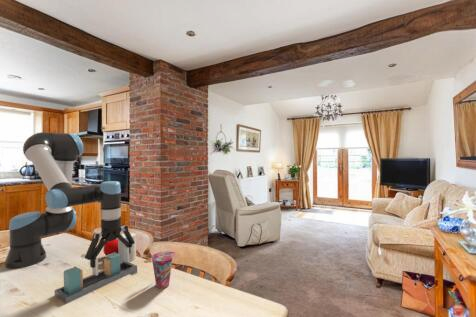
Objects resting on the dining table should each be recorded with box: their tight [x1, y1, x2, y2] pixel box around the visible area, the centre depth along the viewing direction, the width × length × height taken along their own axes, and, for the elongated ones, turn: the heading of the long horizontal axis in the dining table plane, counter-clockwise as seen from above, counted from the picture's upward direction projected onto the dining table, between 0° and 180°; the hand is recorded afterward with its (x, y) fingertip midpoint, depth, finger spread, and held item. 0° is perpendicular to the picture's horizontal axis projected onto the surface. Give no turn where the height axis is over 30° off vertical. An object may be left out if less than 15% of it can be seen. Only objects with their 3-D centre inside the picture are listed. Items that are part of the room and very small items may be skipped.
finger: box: [103, 253, 121, 278], centre depth 102 cm, size 4×5×9 cm
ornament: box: [102, 238, 118, 256], centre depth 123 cm, size 9×9×10 cm
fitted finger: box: [63, 266, 84, 295], centre depth 89 cm, size 4×5×9 cm
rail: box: [54, 261, 138, 305], centre depth 98 cm, size 9×28×3 cm, turn 148°
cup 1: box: [117, 232, 137, 263], centre depth 121 cm, size 8×8×12 cm
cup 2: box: [150, 251, 176, 289], centre depth 97 cm, size 9×8×12 cm
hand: (111, 267), depth 102 cm, fingers open, 13 cm apart
